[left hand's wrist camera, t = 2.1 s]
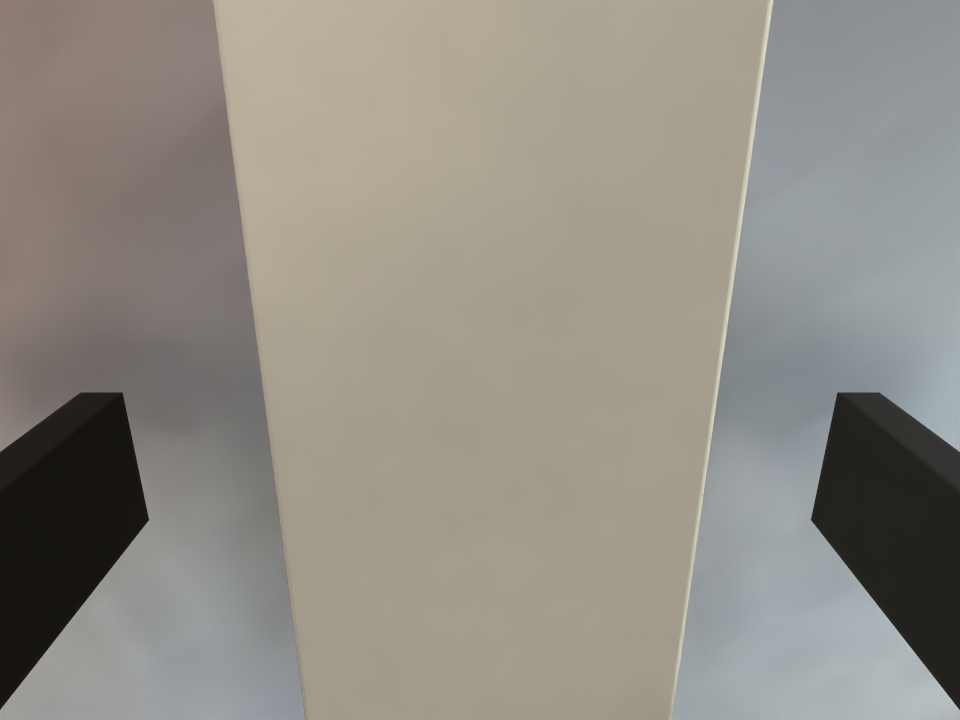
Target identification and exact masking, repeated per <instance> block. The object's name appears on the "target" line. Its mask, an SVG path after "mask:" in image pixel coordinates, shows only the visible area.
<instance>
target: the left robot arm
mask: <svg viewBox="0 0 960 720" xmlns="http://www.w3.org/2000/svg"><path fill="white" fill-rule="evenodd" d="M148 520H149V518H148V513H147V508H146V503H145V498H144V494H143V489H142V484H141V479H140V474H139V470H138V465H137V460H136V455H135V450H134V446H133V441H132V436H131V431H130V426H129V422H128V417H127V412H126V407H125V402H124V398H123V393H80V394H78V395H77V396H75V397H74V398H73V399H71V400H70V401H69V402H67V403H66V404H65V405H63V406H62V407H61V408H59V409H58V410H57V411H55V412H54V413H52V414H51V415H50V416H48V417H47V418H46V419H44V420H43V421H42V422H40V423H39V424H38V425H36V426H35V427H34V428H32V429H31V430H29V431H28V432H27V433H25V434H24V435H23V436H21V437H20V438H19V439H17V440H16V441H15V442H13V443H12V444H11V445H9V446H8V447H7V448H5V449H4V450H2V451H1V452H0V709H1V708H2V707H3V706H4V704H5V703H6V702H7V700H8V699H9V698H10V697H11V695H12V694H13V693H14V692H15V690H16V689H17V688H18V686H19V685H20V684H21V683H22V681H23V680H24V679H25V678H26V676H27V675H28V674H29V672H30V671H31V670H32V669H33V667H34V666H35V665H36V663H37V662H38V661H39V660H40V658H41V657H42V656H43V655H44V653H45V652H46V651H47V649H48V648H49V647H50V646H51V644H52V643H53V642H54V640H55V639H56V638H57V637H58V635H59V634H60V633H61V632H62V630H63V629H64V628H65V626H66V625H67V624H68V623H69V621H70V620H71V619H72V617H73V616H74V615H75V614H76V612H77V611H78V610H79V609H80V607H81V606H82V605H83V603H84V602H85V601H86V600H87V598H88V597H89V596H90V595H91V593H92V592H93V591H94V589H95V588H96V587H97V586H98V584H99V583H100V582H101V580H102V579H103V578H104V577H105V575H106V574H107V573H108V572H109V570H110V569H111V568H112V566H113V565H114V564H115V563H116V561H117V560H118V559H119V557H120V556H121V555H122V554H123V552H124V551H125V550H126V549H127V547H128V546H129V545H130V543H131V542H132V541H133V540H134V538H135V537H136V536H137V535H138V533H139V532H140V531H141V529H142V528H143V527H144V526H145V524H146V523H147V522H148ZM811 520H812V522H813V523H814V524H815V526H816V527H817V528H818V529H819V531H820V532H821V533H822V535H823V536H824V537H825V538H826V540H827V541H828V542H829V543H830V545H831V546H832V547H833V549H834V550H835V551H836V552H837V554H838V555H839V556H840V557H841V559H842V560H843V561H844V563H845V564H846V565H847V566H848V568H849V569H850V570H851V572H852V573H853V574H854V575H855V577H856V578H857V579H858V580H859V582H860V583H861V584H862V586H863V587H864V588H865V589H866V591H867V592H868V593H869V595H870V596H871V597H872V598H873V600H874V601H875V602H876V603H877V605H878V606H879V607H880V609H881V610H882V611H883V612H884V614H885V615H886V616H887V618H888V619H889V620H890V621H891V623H892V624H893V625H894V626H895V628H896V629H897V630H898V632H899V633H900V634H901V635H902V637H903V638H904V639H905V640H906V642H907V643H908V644H909V646H910V647H911V648H912V649H913V651H914V652H915V653H916V655H917V656H918V657H919V658H920V660H921V661H922V662H923V663H924V665H925V666H926V667H927V669H928V670H929V671H930V672H931V674H932V675H933V676H934V678H935V679H936V680H937V681H938V683H939V684H940V685H941V686H942V688H943V689H944V690H945V692H946V693H947V694H948V695H949V697H950V698H951V699H952V700H953V702H954V703H955V704H956V706H957V707H958V708H959V709H960V452H959V451H958V450H956V449H955V448H953V447H952V446H951V445H949V444H948V443H947V442H945V441H944V440H943V439H941V438H940V437H939V436H937V435H936V434H935V433H933V432H932V431H930V430H929V429H928V428H926V427H925V426H924V425H922V424H921V423H920V422H918V421H917V420H916V419H914V418H913V417H912V416H910V415H909V414H908V413H906V412H905V411H903V410H902V409H901V408H899V407H898V406H897V405H895V404H894V403H893V402H891V401H890V400H889V399H887V398H886V397H885V396H883V395H882V394H880V393H837V398H836V402H835V407H834V412H833V417H832V422H831V426H830V431H829V436H828V441H827V446H826V450H825V455H824V460H823V465H822V470H821V474H820V479H819V484H818V489H817V494H816V498H815V503H814V508H813V513H812V518H811Z"/></svg>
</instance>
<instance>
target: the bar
mask: <svg viewBox="0 0 960 720" xmlns="http://www.w3.org/2000/svg"><path fill="white" fill-rule="evenodd" d="M213 6H214V14H215V22H216V30H217V37H218V45H219V53H220V61H221V68H222V76H223V84H224V92H225V99H226V107H227V115H228V123H229V130H230V138H231V146H232V154H233V162H234V169H235V177H236V185H237V193H238V200H239V208H240V216H241V224H242V231H243V239H244V247H245V255H246V263H247V270H248V278H249V286H250V294H251V301H252V309H253V317H254V325H255V332H256V340H257V348H258V356H259V363H260V371H261V379H262V387H263V394H264V402H265V410H266V418H267V426H268V433H269V441H270V449H271V457H272V464H273V472H274V480H275V488H276V495H277V503H278V511H279V519H280V526H281V534H282V542H283V550H284V558H285V565H286V573H287V581H288V589H289V596H290V604H291V612H292V620H293V627H294V635H295V643H296V651H297V658H298V666H299V674H300V682H301V690H302V697H303V705H304V713H305V720H672V714H673V707H674V700H675V693H676V686H677V678H678V671H679V664H680V657H681V650H682V643H683V636H684V629H685V622H686V615H687V608H688V601H689V593H690V586H691V579H692V572H693V565H694V558H695V551H696V544H697V537H698V530H699V523H700V516H701V509H702V501H703V494H704V487H705V480H706V473H707V466H708V459H709V452H710V445H711V438H712V431H713V424H714V416H715V409H716V402H717V395H718V388H719V381H720V374H721V367H722V360H723V353H724V346H725V339H726V331H727V324H728V317H729V310H730V303H731V296H732V289H733V282H734V275H735V268H736V261H737V254H738V246H739V239H740V232H741V225H742V218H743V211H744V204H745V197H746V190H747V183H748V176H749V169H750V161H751V154H752V147H753V140H754V133H755V126H756V119H757V112H758V105H759V98H760V91H761V84H762V76H763V69H764V62H765V55H766V48H767V41H768V34H769V27H770V20H771V13H772V6H773V0H213Z"/></svg>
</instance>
